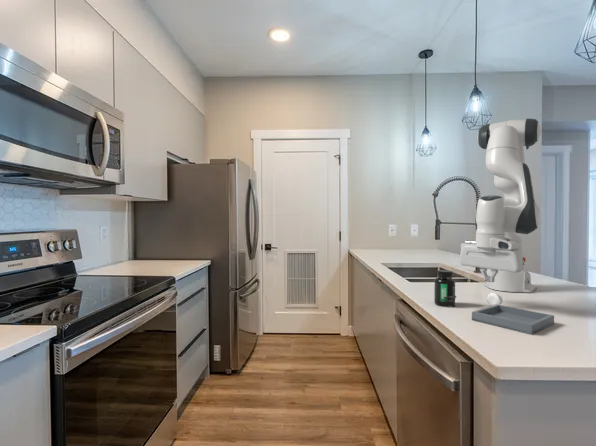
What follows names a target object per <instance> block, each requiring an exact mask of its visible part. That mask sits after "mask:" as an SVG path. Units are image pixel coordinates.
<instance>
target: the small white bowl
mask: <svg viewBox="0 0 596 446" xmlns="http://www.w3.org/2000/svg"><path fill="white" fill-rule="evenodd" d="M486 297H487V303H488V304H489V307H490V306H493V305H496V304H498V305H502V304H503V301H504V300H503V297H502V296H501V295H500V294H497V293H495V292H490V293H488V295H487V296H486Z"/></svg>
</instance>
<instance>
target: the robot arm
mask: <svg viewBox="0 0 596 446" xmlns="http://www.w3.org/2000/svg"><path fill="white" fill-rule="evenodd" d="M541 133H542V128H541V124H540V123H539V121H538V119H535V118H526V119H508V120H506V121H499V122H494V123H487V124H484V125H481V127H480V128H479V129H478V132H477V136H476V140H477V143H478V146H479V147H480V148H481V149H483V150H486V151H485V159H484V160H485V168H486V169H487V170H488V171H489V173H491V174H492V175H493V184H494V187H495V188H496V189H498V190H500V191H501V193H502V195H503V197H502V196H501V195H485V196H482V197H479V198H478V201H477V206H476V211H475V212H476V214H475V224H476V230H475V240H464V241H462V242H461V243H460V255H459V264H460V265H461V266H463V267H464V266H465V267H471V268H472V267H473V268H478V269H479V268H480V269H479V270H480V273H481V275H482V276H483V281H484V283H483V286H484V287H487V288H488V289H491V290H495V291H500V292H510V293H530V294H531V293H532V292H534V291H535V290H536V289H537V288H538V286H537V285H536V284H533V283H532V281H531V280H532V278H531V273H530V272H529V271H528V270H527V269H526V267H525V263H526V261H527V259H526V257H525V256H524V255H523V239H522V237H520V236H519V235H518V234H521V235H522V234H523V235H528V234H531V233H533V232H534V231H536V230H537V229H538V228H539V226H540V224H539V223H540V209H539V206H538V204H537V203H536V201H535V195H534V188H533V182H532V177H531V171H530V168H529V166H528V164H527V163H525V152H524V147H525V149H526V150H529V148H530V147H532V146H534V145H535V144H536V143H537V142H538V141H539V139H540V136H541ZM523 256H524V257H523Z"/></svg>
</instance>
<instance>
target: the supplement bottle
mask: <svg viewBox="0 0 596 446" xmlns="http://www.w3.org/2000/svg"><path fill="white" fill-rule="evenodd" d="M436 276H437V277H435V279H434V292H433V293H434V294H433V295H434V297H433V298H434V299H433V301H434V304H435V305H437V306H440V307H442V306H452V305H455V306H456V300H455V301H454V302H448V301H447V300H446V298H444V297H449V296H456V280H455V279H454V278H453V271H452V270H445V269H438V270H437V274H436ZM446 277H452V279H451V280H448V279H446Z"/></svg>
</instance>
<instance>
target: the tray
mask: <svg viewBox="0 0 596 446" xmlns="http://www.w3.org/2000/svg"><path fill="white" fill-rule="evenodd" d="M471 321H474V322H477V323H482V324H487V325H491V326H495V327H499V328H503V329H507V330H511V331H516V332H518V333H519V332H520V333H525V334H527V335H534V334H536V333H537V332H540V331H543V330H544V329H547V328H548V327H551V326H553V325H554V324H555V315H554V314H549V313H544V312H538V311H533V310H528V309H524V308H519V307H518V308H517V307H512V306H508V305H503V304H500V305H498V304H496V305H493V306H490V305H489V306H488V307H483V308H480V309H476V310H474V311H471Z"/></svg>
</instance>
